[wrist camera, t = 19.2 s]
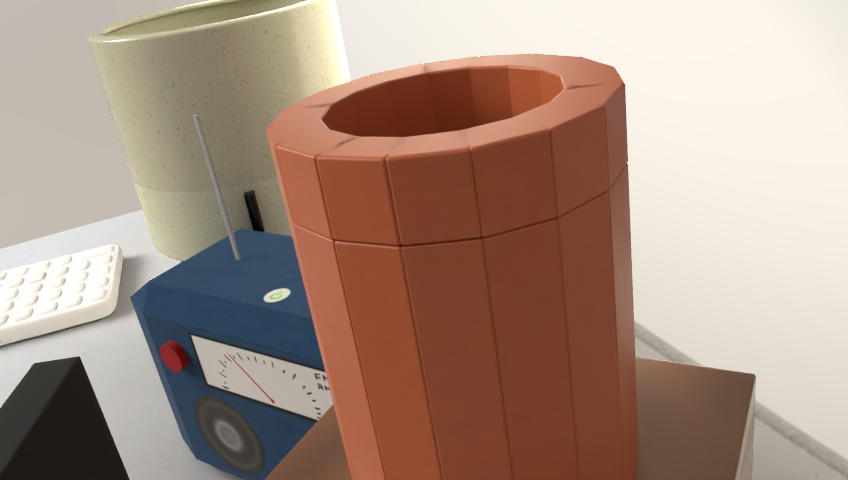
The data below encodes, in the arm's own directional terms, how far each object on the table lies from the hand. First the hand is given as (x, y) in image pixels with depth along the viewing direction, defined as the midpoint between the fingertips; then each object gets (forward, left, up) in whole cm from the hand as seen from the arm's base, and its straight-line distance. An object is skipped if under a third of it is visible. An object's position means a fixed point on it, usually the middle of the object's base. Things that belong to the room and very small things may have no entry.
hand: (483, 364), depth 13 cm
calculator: (-58, +22, -21) cm, 65 cm away
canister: (-4, +7, -9) cm, 12 cm away
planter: (-30, +27, -21) cm, 46 cm away
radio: (-17, +15, -21) cm, 31 cm away
